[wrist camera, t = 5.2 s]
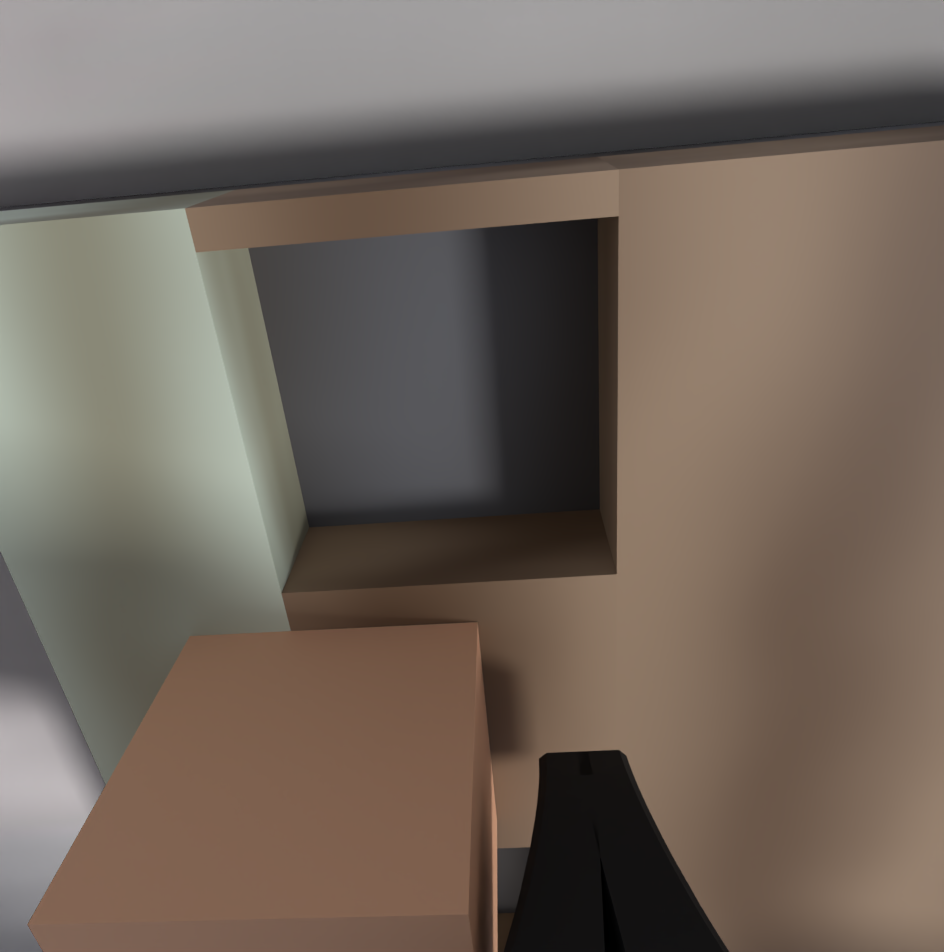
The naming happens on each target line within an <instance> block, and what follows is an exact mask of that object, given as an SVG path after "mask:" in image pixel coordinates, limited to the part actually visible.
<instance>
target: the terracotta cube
mask: <svg viewBox="0 0 944 952" xmlns="http://www.w3.org/2000/svg"><path fill="white" fill-rule="evenodd" d="M27 925H28V927H29V929H30V930H31V932H32V934H33V935H34V937H35V939H36V940H37V942H38V944H39V946H40V947H41V949H42V951H43V952H498V932H497V815H496V805H495V795H494V784H493V774H492V764H491V754H490V744H489V733H488V723H487V713H486V703H485V693H484V682H483V672H482V662H481V652H480V642H479V631H478V622H469V623H449V624H428V625H407V626H386V627H365V628H345V629H324V630H303V631H282V632H261V633H240V634H221V635H201V636H190V637H189V639H188V640H187V642H186V644H185V646H184V647H183V649H182V651H181V653H180V655H179V656H178V658H177V660H176V662H175V663H174V665H173V667H172V669H171V671H170V672H169V674H168V676H167V678H166V679H165V681H164V683H163V685H162V686H161V688H160V690H159V692H158V694H157V695H156V697H155V699H154V701H153V702H152V704H151V706H150V708H149V710H148V711H147V713H146V715H145V717H144V718H143V720H142V722H141V724H140V726H139V727H138V729H137V731H136V733H135V734H134V736H133V738H132V740H131V742H130V743H129V745H128V747H127V749H126V750H125V752H124V754H123V756H122V757H121V759H120V761H119V763H118V765H117V766H116V768H115V770H114V772H113V773H112V775H111V777H110V779H109V781H108V782H107V784H106V786H105V788H104V789H103V791H102V793H101V795H100V797H99V798H98V800H97V802H96V804H95V805H94V807H93V809H92V811H91V812H90V814H89V816H88V818H87V820H86V821H85V823H84V825H83V827H82V828H81V830H80V832H79V834H78V836H77V837H76V839H75V841H74V843H73V844H72V846H71V848H70V850H69V852H68V853H67V855H66V857H65V859H64V860H63V862H62V864H61V866H60V868H59V869H58V871H57V873H56V875H55V876H54V878H53V880H52V882H51V883H50V885H49V887H48V889H47V891H46V892H45V894H44V896H43V898H42V899H41V901H40V903H39V905H38V907H37V908H36V910H35V912H34V914H33V915H32V917H31V919H30V921H29V923H28V924H27Z"/></svg>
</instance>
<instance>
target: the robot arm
mask: <svg viewBox="0 0 944 952" xmlns="http://www.w3.org/2000/svg"><path fill="white" fill-rule="evenodd" d="M504 952H729V950H728V949H727V947H726V946H725V944H724V943H723V941H722V939H721V938H720V936H719V935H718V933H717V932H716V930H715V928H714V927H713V925H712V923H711V922H710V920H709V918H708V917H707V915H706V913H705V912H704V910H703V909H702V907H701V905H700V904H699V902H698V900H697V898H696V897H695V895H694V893H693V891H692V889H691V888H690V886H689V884H688V882H687V881H686V879H685V877H684V875H683V874H682V872H681V870H680V868H679V867H678V865H677V863H676V861H675V860H674V858H673V856H672V854H671V852H670V850H669V848H668V847H667V845H666V843H665V841H664V839H663V837H662V835H661V833H660V831H659V829H658V827H657V825H656V823H655V821H654V819H653V817H652V815H651V813H650V811H649V809H648V807H647V805H646V802H645V800H644V798H643V796H642V794H641V791H640V789H639V787H638V785H637V782H636V780H635V777H634V775H633V772H632V770H631V767H630V764H629V762H628V759H627V756H626V755H625V754H624V753H622V752H621V751H620V750H602V751H578V752H554V753H545V754H544V755H543V756H542V757H540V758H539V787H538V799H537V807H536V815H535V821H534V827H533V833H532V839H531V845H530V849H529V854H528V858H527V863H526V867H525V872H524V876H523V881H522V886H521V890H520V894H519V898H518V902H517V906H516V910H515V913H514V917H513V920H512V924H511V927H510V931H509V934H508V938H507V941H506V945H505V948H504Z"/></svg>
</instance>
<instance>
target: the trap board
mask: <svg viewBox="0 0 944 952" xmlns="http://www.w3.org/2000/svg"><path fill="white" fill-rule="evenodd" d="M0 552H1V554H2V556H3V558H4V561H5V563H6V565H7V567H8V569H9V572H10V574H11V576H12V578H13V581H14V583H15V585H16V587H17V589H18V592H19V594H20V596H21V598H22V600H23V603H24V605H25V607H26V609H27V612H28V614H29V616H30V618H31V620H32V623H33V625H34V627H35V629H36V632H37V634H38V636H39V638H40V640H41V643H42V645H43V647H44V649H45V651H46V654H47V656H48V658H49V660H50V663H51V665H52V667H53V669H54V671H55V674H56V676H57V678H58V680H59V683H60V685H61V687H62V689H63V691H64V694H65V696H66V698H67V700H68V702H69V705H70V707H71V709H72V711H73V714H74V716H75V718H76V720H77V722H78V725H79V727H80V729H81V731H82V734H83V736H84V738H85V740H86V742H87V745H88V747H89V749H90V751H91V753H92V756H93V758H94V760H95V762H96V765H97V767H98V769H99V771H100V773H101V776H102V778H103V780H104V782H105V785H106V784H107V782H108V781H109V779H110V777H111V775H112V773H113V772H114V770H115V768H116V766H117V765H118V763H119V761H120V759H121V757H122V756H123V754H124V752H125V750H126V749H127V747H128V745H129V743H130V742H131V740H132V738H133V736H134V734H135V733H136V731H137V729H138V727H139V726H140V724H141V722H142V720H143V718H144V717H145V715H146V713H147V711H148V710H149V708H150V706H151V704H152V702H153V701H154V699H155V697H156V695H157V694H158V692H159V690H160V688H161V686H162V685H163V683H164V681H165V679H166V678H167V676H168V674H169V672H170V671H171V669H172V667H173V665H174V663H175V662H176V660H177V658H178V656H179V655H180V653H181V651H182V649H183V647H184V646H185V644H186V642H187V640H188V639H189V637H190V636H201V635H221V634H240V633H261V632H282V631H303V630H324V629H345V628H365V627H386V626H407V625H428V624H449V623H469V622H478V631H479V642H480V652H481V662H482V672H483V682H484V693H485V703H486V713H487V723H488V733H489V744H490V754H491V764H492V774H493V784H494V795H495V805H496V815H497V932H498V952H504V948H505V945H506V941H507V938H508V934H509V931H510V927H511V924H512V920H513V917H514V913H515V910H516V906H517V902H518V898H519V894H520V890H521V886H522V881H523V876H524V872H525V867H526V863H527V858H528V854H529V849H530V845H531V839H532V833H533V827H534V821H535V815H536V807H537V799H538V787H539V758H540V757H542V756H543V755H544V754H545V753H554V752H578V751H602V750H620V751H621V752H622V753H624V754H625V755H626V756H627V759H628V762H629V764H630V767H631V770H632V772H633V775H634V777H635V780H636V782H637V785H638V787H639V789H640V791H641V794H642V796H643V798H644V800H645V802H646V805H647V807H648V809H649V811H650V813H651V815H652V817H653V819H654V821H655V823H656V825H657V827H658V829H659V831H660V833H661V835H662V837H663V839H664V841H665V843H666V845H667V847H668V848H669V850H670V852H671V854H672V856H673V858H674V860H675V861H676V863H677V865H678V867H679V868H680V870H681V872H682V874H683V875H684V877H685V879H686V881H687V882H688V884H689V886H690V888H691V889H692V891H693V893H694V895H695V897H696V898H697V900H698V902H699V904H700V905H701V907H702V909H703V910H704V912H705V913H706V915H707V917H708V918H709V920H710V922H711V923H712V925H713V927H714V928H715V930H716V932H717V933H718V935H719V936H720V938H721V939H722V941H723V943H724V944H725V946H726V947H727V949H728V950H729V952H944V122H934V123H923V124H912V125H901V126H890V127H879V128H868V129H857V130H846V131H835V132H824V133H813V134H802V135H791V136H780V137H769V138H758V139H747V140H736V141H726V142H715V143H704V144H693V145H682V146H671V147H660V148H649V149H638V150H627V151H616V152H605V153H594V154H583V155H572V156H561V157H550V158H539V159H528V160H517V161H506V162H495V163H484V164H473V165H462V166H452V167H441V168H430V169H419V170H408V171H397V172H386V173H375V174H364V175H353V176H342V177H331V178H320V179H309V180H298V181H287V182H276V183H265V184H254V185H243V186H232V187H221V188H210V189H199V190H189V191H178V192H167V193H156V194H145V195H134V196H123V197H112V198H101V199H90V200H79V201H68V202H57V203H46V204H35V205H24V206H13V207H2V208H0Z"/></svg>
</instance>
